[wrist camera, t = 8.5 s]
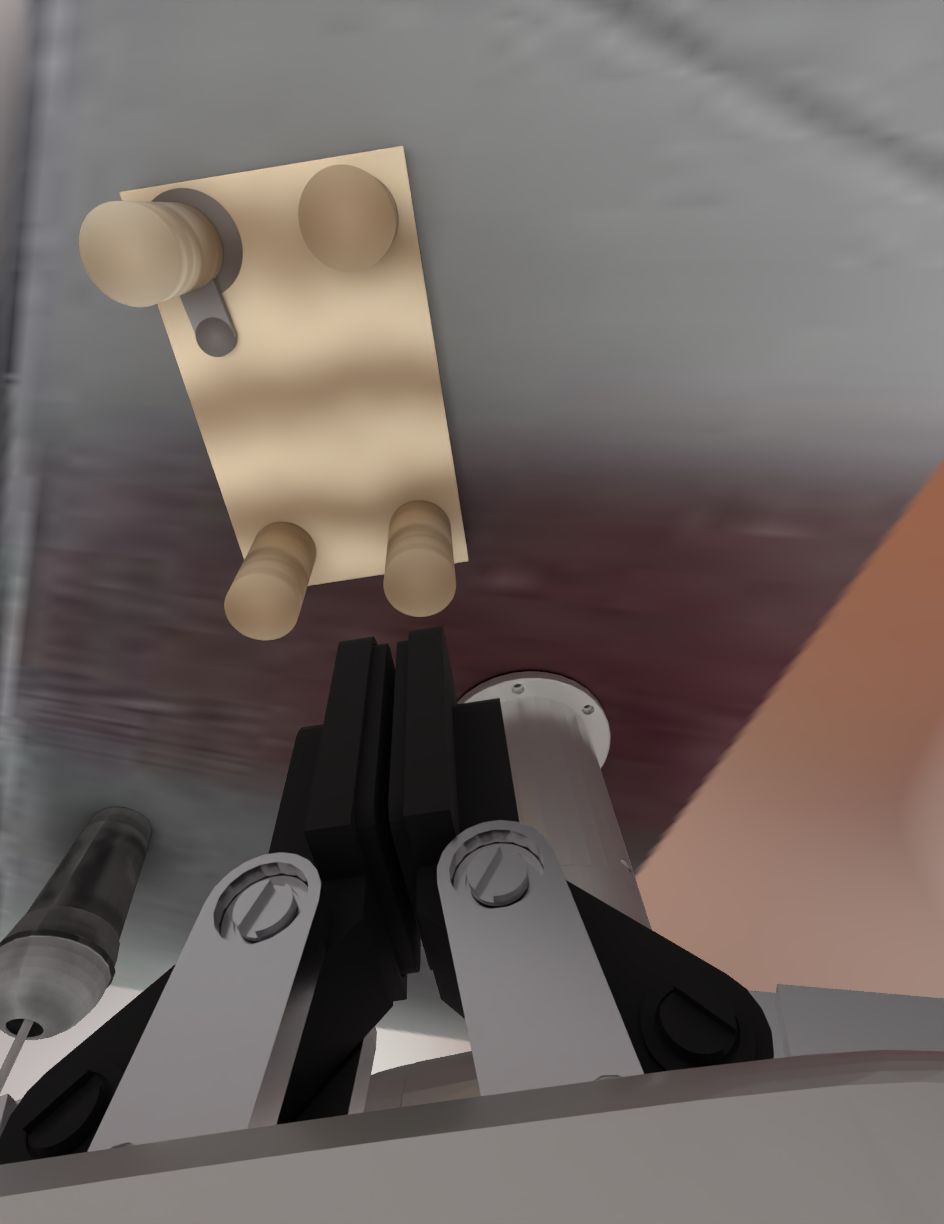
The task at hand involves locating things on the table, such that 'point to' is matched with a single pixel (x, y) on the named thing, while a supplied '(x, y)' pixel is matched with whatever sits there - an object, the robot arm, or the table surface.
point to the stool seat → (322, 387)
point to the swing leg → (160, 263)
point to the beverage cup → (71, 932)
